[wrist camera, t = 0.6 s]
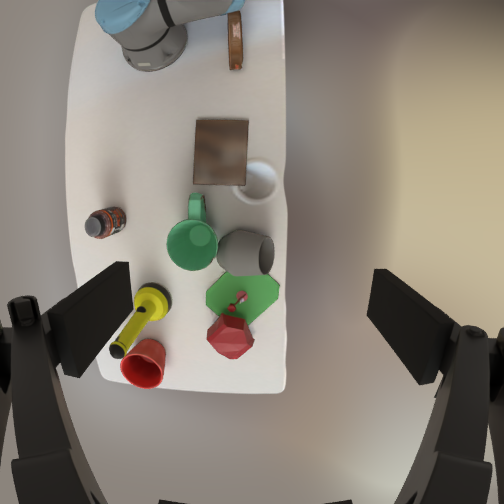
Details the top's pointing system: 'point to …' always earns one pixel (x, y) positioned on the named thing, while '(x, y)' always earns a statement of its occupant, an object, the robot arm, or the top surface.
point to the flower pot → (144, 364)
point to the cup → (245, 253)
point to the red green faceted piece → (238, 310)
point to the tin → (235, 40)
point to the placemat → (220, 152)
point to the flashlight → (142, 315)
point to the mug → (193, 238)
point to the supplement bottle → (105, 222)
